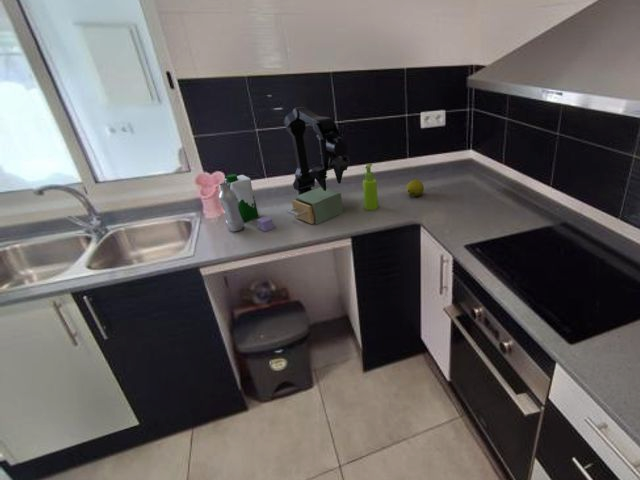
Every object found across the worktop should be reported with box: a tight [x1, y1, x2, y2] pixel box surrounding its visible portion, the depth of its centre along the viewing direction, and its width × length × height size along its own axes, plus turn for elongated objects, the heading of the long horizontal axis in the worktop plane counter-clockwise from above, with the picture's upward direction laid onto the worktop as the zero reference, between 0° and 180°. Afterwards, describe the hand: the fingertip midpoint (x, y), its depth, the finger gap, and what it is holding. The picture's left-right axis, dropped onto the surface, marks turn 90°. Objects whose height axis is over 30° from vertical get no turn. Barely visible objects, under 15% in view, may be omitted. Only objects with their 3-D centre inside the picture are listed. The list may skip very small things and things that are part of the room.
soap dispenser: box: [362, 163, 379, 211], centre depth 170 cm, size 6×7×20 cm
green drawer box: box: [294, 186, 344, 225], centre depth 166 cm, size 15×13×10 cm
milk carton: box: [224, 173, 259, 223], centre depth 162 cm, size 9×9×20 cm
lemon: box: [405, 179, 425, 197], centre depth 184 cm, size 11×8×8 cm
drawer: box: [286, 199, 315, 225], centre depth 163 cm, size 18×11×8 cm, turn 143°
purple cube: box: [256, 215, 275, 232], centre depth 156 cm, size 4×4×4 cm
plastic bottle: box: [218, 181, 245, 232], centre depth 152 cm, size 6×7×20 cm
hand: (332, 187), depth 160 cm, fingers open, 9 cm apart
